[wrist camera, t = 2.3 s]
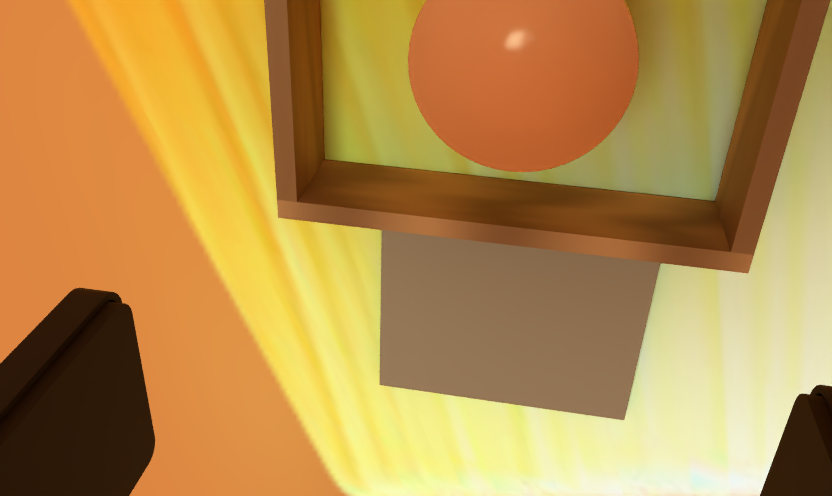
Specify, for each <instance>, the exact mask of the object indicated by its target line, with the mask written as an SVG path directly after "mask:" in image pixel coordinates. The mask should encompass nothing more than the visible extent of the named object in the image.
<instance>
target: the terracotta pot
mask: <svg viewBox="0 0 832 496" xmlns="http://www.w3.org/2000/svg"><path fill="white" fill-rule="evenodd" d="M638 66H639V53H638V43H637V37H636V32H635V27H634V23H633V20H632V16H631V13H630V10H629V8H628V6H627V4H626V2H625V0H427V1H426V2H425V4H424V6H423V8H422V10H421V11H420V13H419V15H418V17H417V20H416V23H415V25H414V28H413V31H412V35H411V40H410V44H409V55H408V67H409V77H410V83H411V88H412V91H413V94H414V98H415V101H416V103H417V105H418V107H419V109H420V112H421V113H422V115H423V117H424V118H425V120H426V122H427V123H428V125H429V126H430V127H431V128H432V130H433V131H434V132H435V133H436V135H437V136H438V137H439V138H441V139H442V140H443V141H444V142H445V143H446V144H447V145H448V146H449V147H451V148H452V149H453V150H455V151H456V152H457V153H459V154H461V155H462V156H464V157H466V158H468V159H469V160H472V161H474V162H476V163H479V164H481V165H484V166H487V167H491V168H494V169H499V170H505V171H513V172H531V171H540V170H545V169H551V168H554V167H557V166H560V165H564V164H566V163H568V162H571V161H573V160H575V159H577V158H579V157H581V156H582V155H584V154H586V153H587V152H589V151H590V150H592V149H593V148H594V147H595V146H597V145H598V144H599V143H600V142H602V141H603V140H604V139H605V138H606V137H607V136H608V135H609V134H610V132H611V131H612V130H613V129H614V128H615V126H616V125H617V124H618V122H619V121H620V120H621V118H622V116H623V114H624V113H625V111H626V109H627V107H628V105H629V103H630V100H631V98H632V95H633V93H634V89H635V85H636V81H637V75H638Z"/></svg>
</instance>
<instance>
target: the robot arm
mask: <svg viewBox="0 0 832 496" xmlns="http://www.w3.org/2000/svg"><path fill="white" fill-rule="evenodd" d="M154 447H155V436H154V430H153V425H152V419H151V414H150V408H149V403H148V397H147V392H146V386H145V381H144V375H143V370H142V364H141V359H140V353H139V348H138V342H137V337H136V331H135V326H134V320H133V315H132V311H131V308H130V307H129V305H127V304H123V303H122V301H121V298H120V297H119V295H118V294H116V293H114V292H108V291H100V290H93V289H85V288H76V289H74V290H72V291H71V292H70V293H69V294H68V295H67V296H66V297H65V298H64V299H63V300H62V301H61V302H60V303H59V304H58V305H57V306H56V307H55V308H54V309H53V310H52V311H51V312H50V313H49V314H48V315H47V316H46V317H45V318H44V320H43V321H42V322H41V323H39V325H38V326H37V327H36V328H35V329H34V330H33V331H32V332H31V333H30V334H29V335H28V336H27V337H26V338H25V339H24V340H23V341H22V342H21V343H20V344H19V345H18V346H17V347H16V348H15V349H14V350H13V351H12V352H11V353H10V354H9V356H7V358H6V359H5V360H4V361H3V362H2V363H1V364H0V496H129V495H130V493H131V492H132V490H133V489H134V487H135V485H136V484H137V482H138V480H139V479H140V477H141V476H142V473H143V472H144V471H145V469H146V467H147V466H148V464H149V462H150V460H151V458H152V455H153V451H154ZM760 496H832V386H825V385H817V386H816V387H815V388H814V389H813V390H812V392H811V394H810V395H809V394H799V396H798V397H797V398H796V400H795V402H794V405H793V408H792V411H791V413H790V416H789V419H788V421H787V424H786V427H785V430H784V432H783V435H782V438H781V440H780V443H779V446H778V448H777V451H776V454H775V457H774V459H773V462H772V465H771V467H770V470H769V473H768V475H767V478H766V481H765V484H764V486H763V489H762V492H761V494H760Z"/></svg>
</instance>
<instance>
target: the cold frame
mask: <svg viewBox="0 0 832 496" xmlns="http://www.w3.org/2000/svg"><path fill="white" fill-rule="evenodd" d="M264 3H265V19H266V34H267V50H268V65H269V81H270V96H271V111H272V127H273V142H274V158H275V173H276V189H277V204H278V218H286V219H294V220H303V221H311V222H320V223H328V224H337V225H345V226H353V227H362V228H370V229H379V230H387V231H396V232H404V233H413V234H421V235H429V236H438V237H446V238H455V239H463V240H472V241H480V242H489V243H497V244H505V245H514V246H522V247H531V248H539V249H548V250H556V251H565V252H573V253H581V254H590V255H598V256H607V257H615V258H624V259H632V260H641V261H649V262H657V263H666V264H674V265H683V266H691V267H700V268H708V269H716V270H725V271H733V272H742V273H748V272H749V269H750V265H751V262H752V259H753V255H754V252H755V249H756V245H757V242H758V239H759V235H760V232H761V229H762V225H763V222H764V219H765V215H766V212H767V209H768V205H769V202H770V199H771V195H772V192H773V189H774V186H775V182H776V179H777V176H778V172H779V169H780V166H781V162H782V159H783V156H784V152H785V149H786V146H787V142H788V139H789V136H790V132H791V129H792V126H793V122H794V119H795V116H796V112H797V109H798V106H799V102H800V99H801V96H802V92H803V89H804V86H805V82H806V79H807V76H808V72H809V69H810V66H811V62H812V59H813V56H814V52H815V49H816V46H817V43H818V39H819V36H820V33H821V29H822V26H823V23H824V19H825V16H826V13H827V9H828V6H829V3H830V0H768V1H767V4H766V8H765V12H764V16H763V20H762V24H761V27H760V31H759V35H758V39H757V43H756V47H755V51H754V54H753V58H752V62H751V66H750V70H749V74H748V77H747V81H746V85H745V89H744V93H743V97H742V100H741V104H740V108H739V112H738V116H737V120H736V124H735V127H734V131H733V135H732V139H731V143H730V147H729V150H728V154H727V158H726V162H725V166H724V170H723V173H722V177H721V181H720V185H719V189H718V193H717V197H716V200H715V202H714V201H704V200H695V199H686V198H677V197H667V196H658V195H649V194H639V193H630V192H621V191H612V190H602V189H593V188H584V187H574V186H565V185H556V184H547V183H537V182H528V181H519V180H509V179H500V178H491V177H482V176H472V175H463V174H454V173H444V172H435V171H426V170H417V169H407V168H398V167H389V166H380V165H370V164H361V163H352V162H342V161H333V160H324V126H323V92H322V57H321V22H320V0H264Z"/></svg>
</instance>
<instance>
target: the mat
mask: <svg viewBox="0 0 832 496" xmlns="http://www.w3.org/2000/svg"><path fill="white" fill-rule="evenodd" d="M659 266H660V263H657V262H649V261H641V260H632V259H624V258H615V257H607V256H598V255H590V254H581V253H573V252H565V251H556V250H548V249H539V248H531V247H522V246H514V245H505V244H497V243H489V242H480V241H472V240H463V239H455V238H446V237H438V236H429V235H421V234H413V233H404V232H396V231H387V230H382V249H381V326H380V385H384V386H391V387H398V388H405V389H412V390H419V391H426V392H433V393H440V394H446V395H453V396H460V397H467V398H474V399H481V400H488V401H495V402H502V403H509V404H516V405H523V406H530V407H537V408H543V409H550V410H557V411H564V412H571V413H578V414H585V415H592V416H599V417H606V418H613V419H620V420H624V418H625V414H626V409H627V405H628V401H629V396H630V392H631V388H632V383H633V379H634V375H635V370H636V366H637V362H638V357H639V353H640V348H641V344H642V340H643V335H644V331H645V327H646V322H647V318H648V314H649V309H650V305H651V301H652V296H653V292H654V288H655V283H656V279H657V274H658V270H659Z"/></svg>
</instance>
